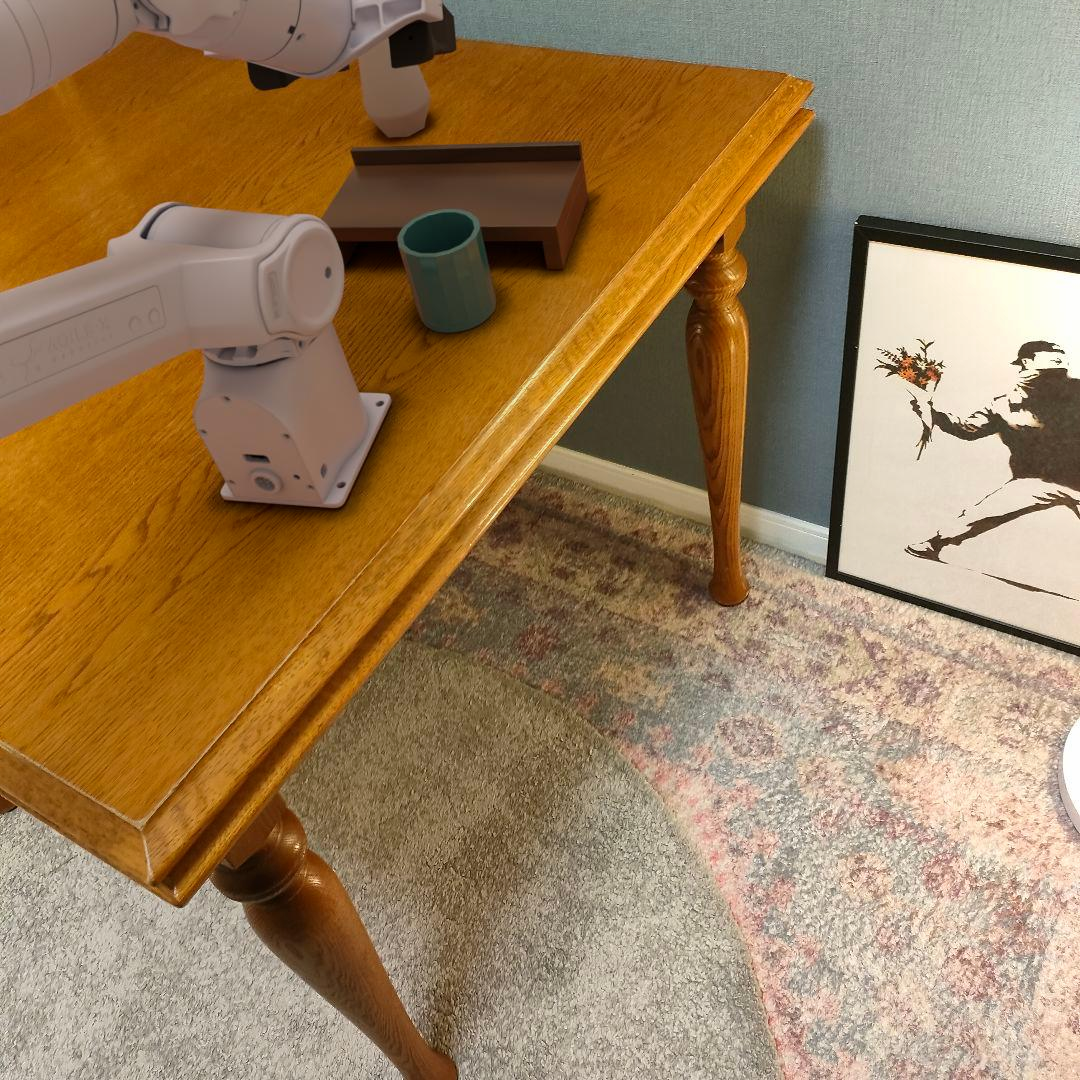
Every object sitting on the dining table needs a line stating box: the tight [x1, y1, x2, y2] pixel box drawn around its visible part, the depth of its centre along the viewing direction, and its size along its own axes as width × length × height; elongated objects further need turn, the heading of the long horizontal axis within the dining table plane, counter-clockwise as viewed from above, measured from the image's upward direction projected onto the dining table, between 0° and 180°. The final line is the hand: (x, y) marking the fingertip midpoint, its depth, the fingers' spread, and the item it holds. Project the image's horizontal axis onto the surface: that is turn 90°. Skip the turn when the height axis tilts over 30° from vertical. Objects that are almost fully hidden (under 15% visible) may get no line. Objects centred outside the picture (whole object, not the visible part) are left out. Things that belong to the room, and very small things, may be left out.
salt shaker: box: [357, 38, 432, 139], centre depth 83 cm, size 6×6×13 cm
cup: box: [397, 209, 497, 334], centre depth 67 cm, size 5×5×6 cm
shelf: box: [320, 140, 589, 271], centre depth 73 cm, size 9×18×5 cm, turn 77°
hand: (395, 43), depth 62 cm, fingers open, 7 cm apart
